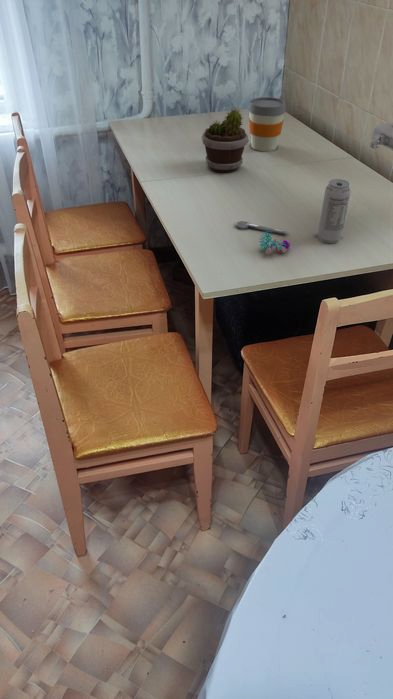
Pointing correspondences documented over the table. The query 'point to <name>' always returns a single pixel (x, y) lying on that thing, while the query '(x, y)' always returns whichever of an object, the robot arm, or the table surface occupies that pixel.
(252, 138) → the reusable coffee cup
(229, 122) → the flowerpot
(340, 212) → the energy drink can
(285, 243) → the anatomy model
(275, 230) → the grey flat-headed rod tool
